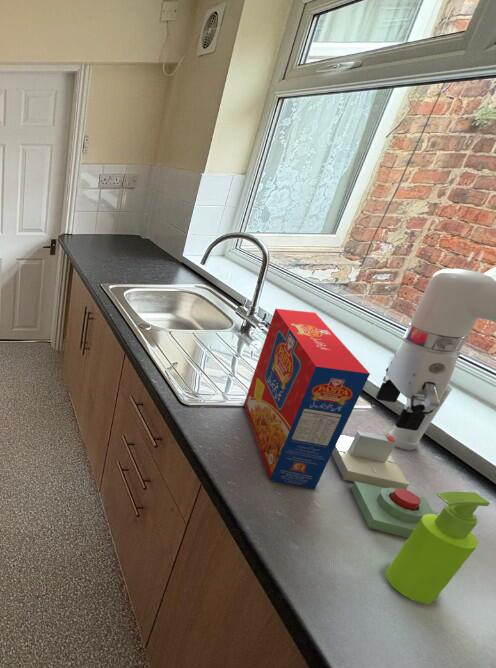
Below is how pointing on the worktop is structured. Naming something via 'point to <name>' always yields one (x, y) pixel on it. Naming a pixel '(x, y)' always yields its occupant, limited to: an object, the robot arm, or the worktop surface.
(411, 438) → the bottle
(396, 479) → the block
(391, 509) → the button box
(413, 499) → the button
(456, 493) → the soap dispenser
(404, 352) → the robot arm
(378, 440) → the tap handle
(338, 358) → the pasta box
